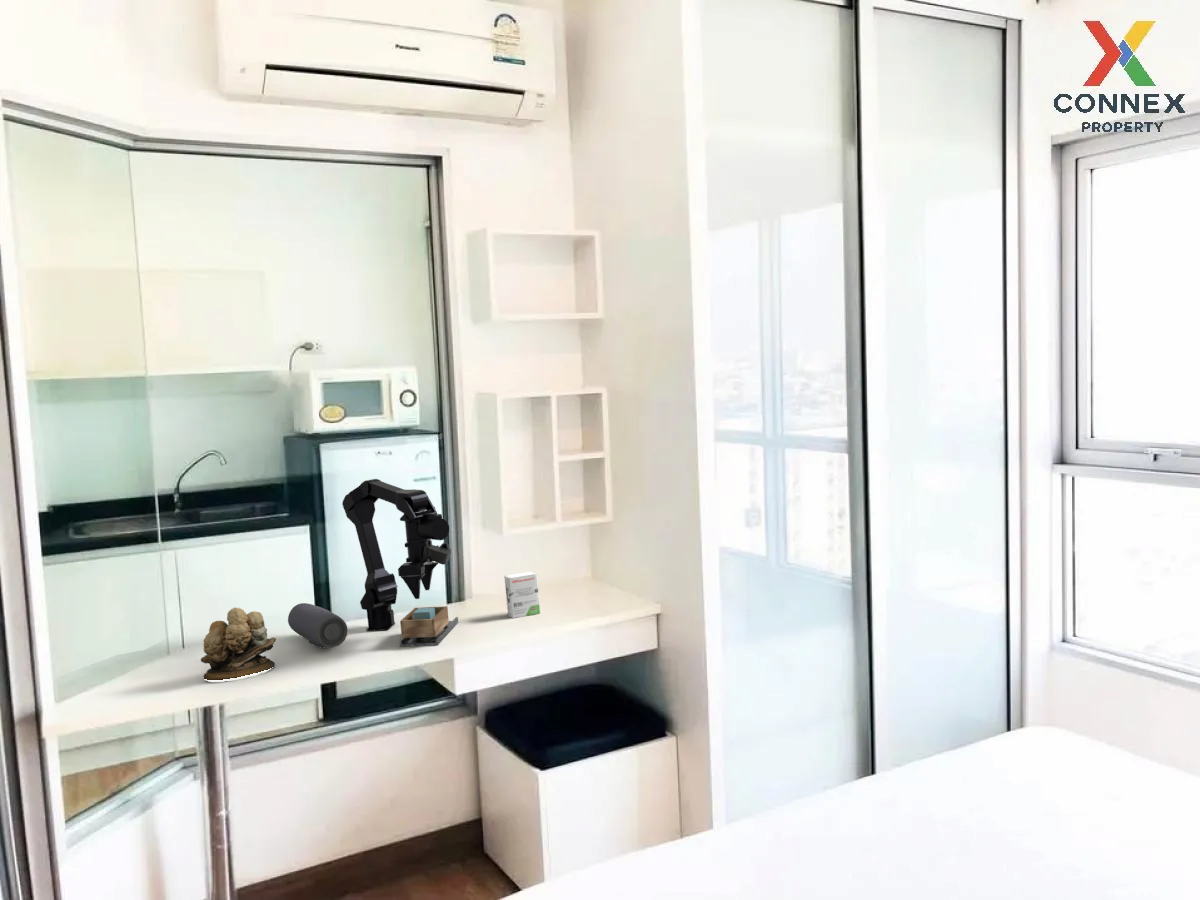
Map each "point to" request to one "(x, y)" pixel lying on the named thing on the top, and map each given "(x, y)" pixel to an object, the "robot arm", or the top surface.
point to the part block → (424, 613)
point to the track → (428, 640)
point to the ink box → (522, 594)
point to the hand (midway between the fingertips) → (422, 594)
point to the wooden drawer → (424, 624)
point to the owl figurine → (237, 646)
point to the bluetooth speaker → (317, 625)
